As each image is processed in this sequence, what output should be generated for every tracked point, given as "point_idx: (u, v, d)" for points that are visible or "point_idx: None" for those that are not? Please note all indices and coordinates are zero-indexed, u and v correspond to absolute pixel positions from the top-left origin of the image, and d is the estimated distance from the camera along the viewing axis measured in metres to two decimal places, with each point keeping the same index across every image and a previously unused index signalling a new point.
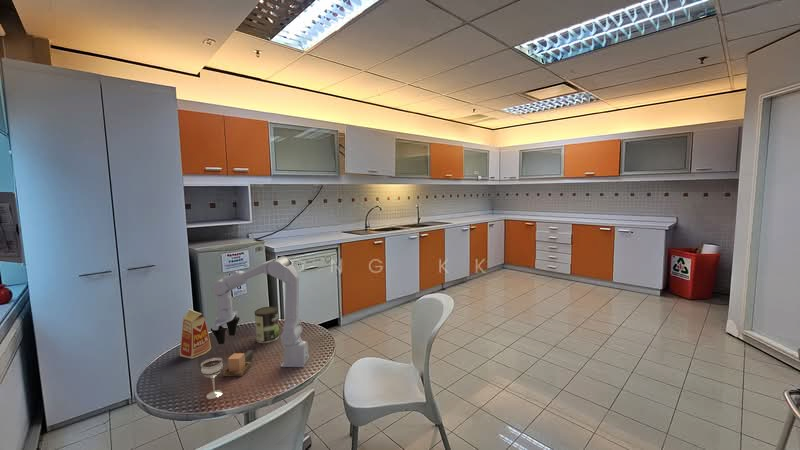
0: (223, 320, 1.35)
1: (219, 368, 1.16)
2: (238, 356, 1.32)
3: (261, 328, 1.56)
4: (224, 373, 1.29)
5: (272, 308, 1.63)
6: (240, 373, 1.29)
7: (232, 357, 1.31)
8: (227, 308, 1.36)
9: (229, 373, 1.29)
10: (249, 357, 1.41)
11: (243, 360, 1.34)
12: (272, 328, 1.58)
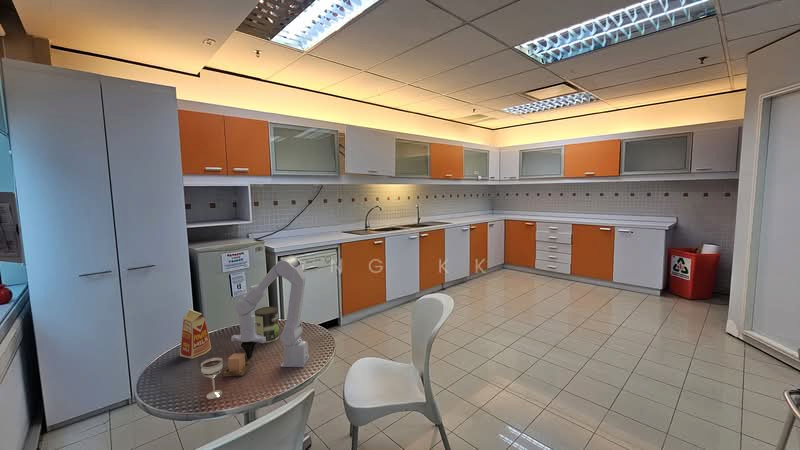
0: (240, 337, 1.39)
1: (219, 368, 1.16)
2: (238, 356, 1.32)
3: (261, 328, 1.56)
4: (224, 373, 1.29)
5: (272, 308, 1.63)
6: (241, 373, 1.29)
7: (232, 357, 1.31)
8: (250, 327, 1.37)
9: (229, 373, 1.29)
10: None
11: (243, 360, 1.34)
12: (272, 328, 1.58)
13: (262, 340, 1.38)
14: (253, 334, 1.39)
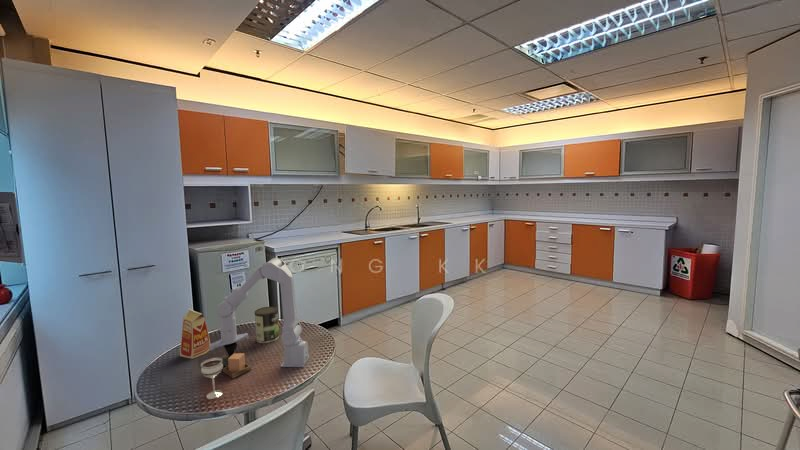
0: (222, 341, 1.35)
1: (219, 368, 1.16)
2: (238, 356, 1.32)
3: (261, 328, 1.56)
4: (234, 374, 1.28)
5: (272, 308, 1.63)
6: (249, 367, 1.33)
7: (232, 357, 1.31)
8: (232, 329, 1.36)
9: (239, 372, 1.30)
10: None
11: (243, 360, 1.34)
12: (272, 328, 1.58)
13: (247, 336, 1.42)
14: (236, 334, 1.39)
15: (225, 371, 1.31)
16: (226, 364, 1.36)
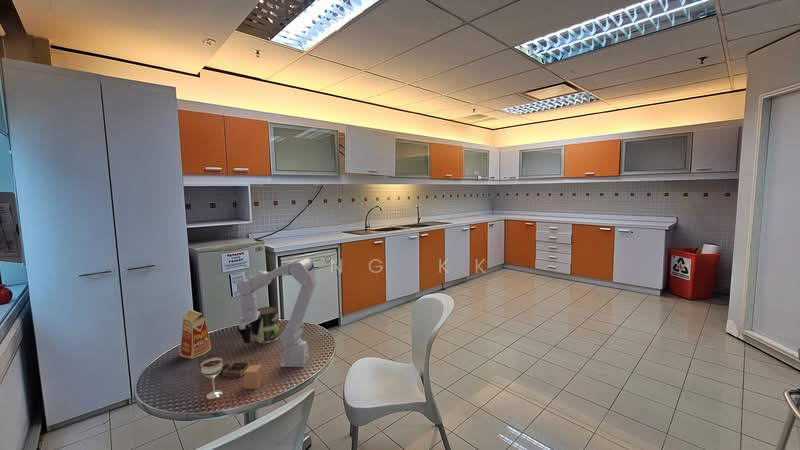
0: (249, 319, 1.37)
1: (219, 368, 1.16)
2: (254, 368, 1.23)
3: (261, 328, 1.56)
4: (241, 372, 1.30)
5: (272, 308, 1.63)
6: (250, 364, 1.36)
7: (248, 370, 1.22)
8: (251, 308, 1.37)
9: (244, 370, 1.32)
10: None
11: (260, 372, 1.25)
12: (272, 328, 1.58)
13: (259, 312, 1.47)
14: None
15: (227, 373, 1.30)
16: None
